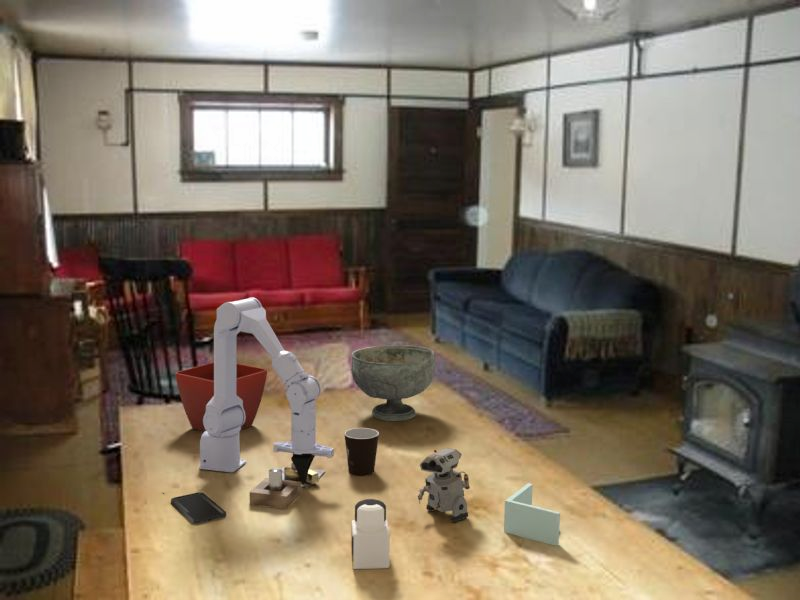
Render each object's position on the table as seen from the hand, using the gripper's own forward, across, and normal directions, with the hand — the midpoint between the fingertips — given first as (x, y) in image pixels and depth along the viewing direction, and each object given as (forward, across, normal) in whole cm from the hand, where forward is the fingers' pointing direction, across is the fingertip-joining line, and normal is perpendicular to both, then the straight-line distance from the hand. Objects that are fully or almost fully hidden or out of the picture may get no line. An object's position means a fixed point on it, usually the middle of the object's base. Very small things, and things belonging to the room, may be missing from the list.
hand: (303, 482), depth 205 cm
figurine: (+1, +35, -8) cm, 36 cm away
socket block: (+1, -3, -9) cm, 10 cm away
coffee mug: (+1, +10, +15) cm, 18 cm away
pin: (+1, -3, -9) cm, 10 cm away
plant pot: (+2, -39, +36) cm, 53 cm away
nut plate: (+1, -4, +5) cm, 6 cm away
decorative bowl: (+1, +5, +62) cm, 62 cm away
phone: (+2, -18, -19) cm, 26 cm away
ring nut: (0, -2, +4) cm, 5 cm away
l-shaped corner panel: (+1, +57, -8) cm, 58 cm away
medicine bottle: (+1, +26, -32) cm, 41 cm away
